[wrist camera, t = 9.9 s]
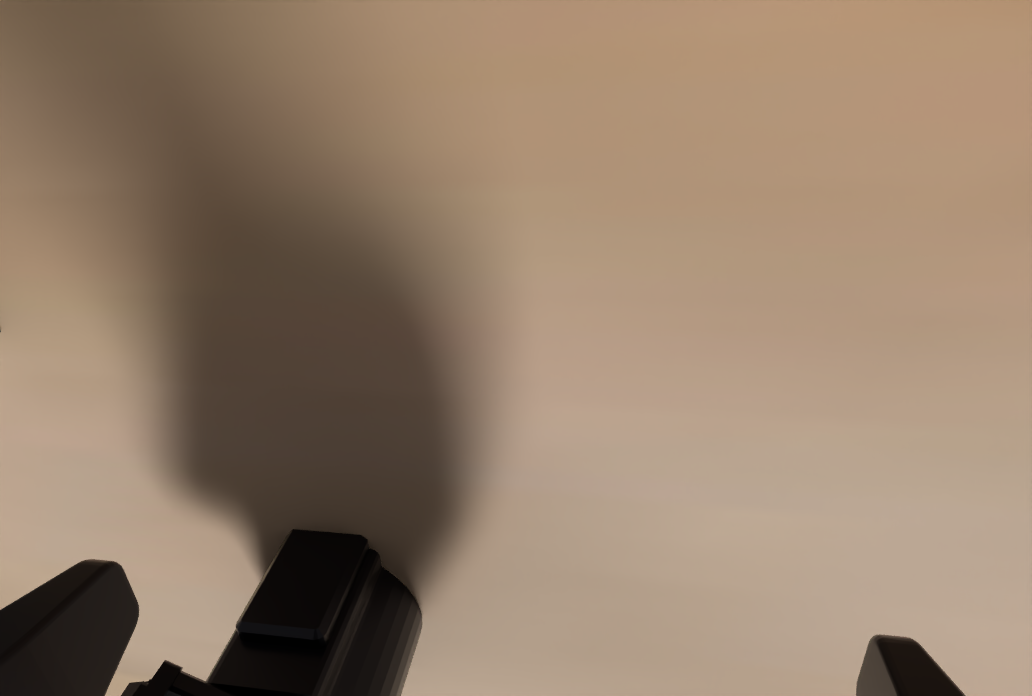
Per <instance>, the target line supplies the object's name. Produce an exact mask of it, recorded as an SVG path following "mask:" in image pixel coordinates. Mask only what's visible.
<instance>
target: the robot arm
mask: <svg viewBox="0 0 1032 696" xmlns="http://www.w3.org/2000/svg"><path fill="white" fill-rule="evenodd" d="M138 617H139V605H138V602H137V599H136V597H135V595H134V593H133V590H132V588H131V586H130V583H129V581H128V579H127V577H126V574H125V572H124V570H123V568H122V566H121V565H120V564H118V563H117V562H114V561H105V560H95V559H89V560H84V561H81V562H80V563H78V564H76V565H74V566H73V567H71V568H69V569H68V570H66V571H64V572H63V573H61V574H59V575H58V576H56V577H54V578H53V579H51V580H49V581H48V582H46V583H44V584H43V585H41V586H39V587H38V588H36V589H34V590H33V591H31V592H29V593H28V594H26V595H24V596H23V597H21V598H19V599H18V600H16V601H14V602H13V603H11V604H10V605H8V606H6V607H5V608H3V609H1V610H0V696H105V694H106V691H107V689H108V687H109V685H110V682H111V680H112V678H113V676H114V674H115V671H116V669H117V667H118V665H119V662H120V660H121V658H122V656H123V654H124V651H125V649H126V647H127V645H128V642H129V640H130V638H131V636H132V634H133V631H134V629H135V627H136V624H137V621H138ZM421 629H422V615H421V612H420V608H419V606H418V604H417V602H416V600H415V598H414V596H413V595H412V594H411V592H410V591H409V590H408V588H407V587H406V586H405V585H404V584H403V583H402V582H401V581H400V580H399V579H397V578H396V577H395V576H394V575H392V574H391V573H389V572H388V571H387V570H385V569H384V568H383V567H382V565H381V561H380V556H379V554H378V552H376V551H375V550H372V549H369V544H368V540H367V539H366V538H364V537H363V536H362V535H354V534H343V533H331V532H319V531H307V530H295V529H293V530H292V531H291V532H290V533H289V534H288V535H287V537H286V538H285V540H284V542H283V543H282V545H281V547H280V549H279V550H278V552H277V554H276V556H275V557H274V559H273V561H272V562H271V564H270V566H269V568H268V569H267V571H266V573H265V575H264V576H263V578H262V580H261V582H260V583H259V585H258V587H257V588H256V590H255V592H254V594H253V595H252V597H251V599H250V601H249V602H248V604H247V606H246V607H245V609H244V611H243V613H242V614H241V616H240V618H239V620H238V621H237V624H236V630H235V631H234V633H233V635H232V637H231V638H230V640H229V642H228V644H227V645H226V647H225V649H224V651H223V652H222V654H221V656H220V658H219V659H218V661H217V663H216V665H215V666H214V668H213V670H212V672H211V673H210V675H209V677H208V679H207V680H206V682H205V681H203V680H201V679H199V678H196V677H194V676H192V675H190V674H187V673H185V672H183V671H182V668H183V667H180V666H178V665H176V664H174V663H171V662H169V661H167V660H165V661H164V662H163V664H162V665H161V667H160V668H159V669H158V671H157V672H156V674H155V675H154V676H153V678H152V679H150V680H149V681H147V682H144V681H143V682H133V683H129V684H128V686H127V687H126V689H125V690H124V692H123V693H122V695H121V696H401V693H402V690H403V687H404V684H405V681H406V677H407V674H408V671H409V668H410V665H411V662H412V658H413V655H414V652H415V649H416V646H417V643H418V640H419V636H420V633H421ZM856 696H965V695H964V693H963V692H962V691H961V690H960V689H959V688H958V687H957V686H956V684H955V683H954V682H953V681H952V680H951V679H950V678H949V677H948V675H947V674H946V673H945V672H944V671H943V670H942V669H941V668H940V666H939V665H938V664H937V663H936V662H935V661H934V660H933V659H932V657H931V656H930V655H929V654H928V653H927V652H926V651H925V650H924V648H923V647H922V646H921V645H920V644H919V643H918V642H916V641H915V640H913V639H911V638H908V637H900V636H889V635H875V636H873V637H872V638H871V639H870V641H869V644H868V647H867V650H866V654H865V657H864V660H863V664H862V667H861V670H860V674H859V677H858V681H857V687H856Z"/></svg>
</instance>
